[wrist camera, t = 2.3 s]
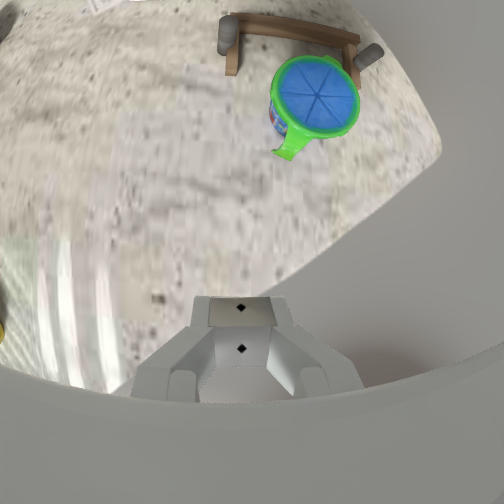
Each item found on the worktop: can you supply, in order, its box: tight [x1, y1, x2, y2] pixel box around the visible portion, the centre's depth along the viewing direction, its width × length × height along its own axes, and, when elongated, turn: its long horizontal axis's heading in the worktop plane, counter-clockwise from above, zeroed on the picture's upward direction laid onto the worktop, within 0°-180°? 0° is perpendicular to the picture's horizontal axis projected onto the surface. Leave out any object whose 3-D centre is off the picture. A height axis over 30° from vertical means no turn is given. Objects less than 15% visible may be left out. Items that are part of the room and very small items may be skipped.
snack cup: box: [269, 55, 360, 161], centre depth 30 cm, size 16×10×10 cm
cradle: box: [217, 12, 384, 90], centre depth 29 cm, size 10×23×8 cm, turn 89°
